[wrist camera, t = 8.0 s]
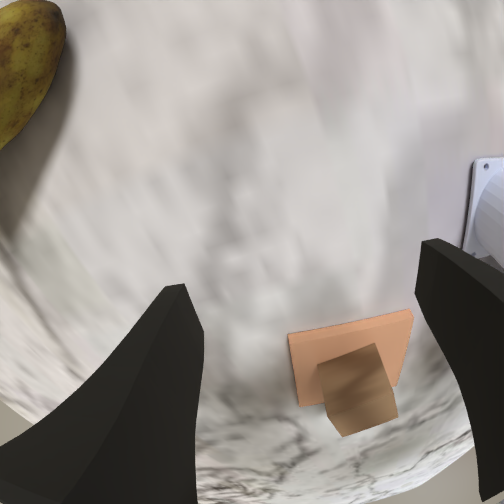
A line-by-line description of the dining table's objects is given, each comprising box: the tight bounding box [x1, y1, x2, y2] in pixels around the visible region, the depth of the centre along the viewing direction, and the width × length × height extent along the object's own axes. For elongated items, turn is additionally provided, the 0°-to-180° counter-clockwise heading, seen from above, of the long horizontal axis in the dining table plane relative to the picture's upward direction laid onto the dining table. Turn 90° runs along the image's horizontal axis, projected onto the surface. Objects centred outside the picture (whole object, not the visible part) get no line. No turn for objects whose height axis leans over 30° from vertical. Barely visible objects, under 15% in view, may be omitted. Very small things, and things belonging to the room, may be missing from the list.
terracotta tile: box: [288, 309, 414, 407], centre depth 25 cm, size 10×10×1 cm
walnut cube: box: [317, 343, 398, 437], centre depth 23 cm, size 5×5×5 cm
